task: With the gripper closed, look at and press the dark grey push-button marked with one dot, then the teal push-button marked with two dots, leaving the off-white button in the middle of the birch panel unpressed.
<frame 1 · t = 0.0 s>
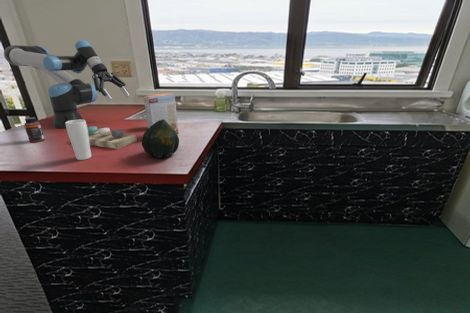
hand: (119, 98, 144), 15 cm above the table, tool tilted 35°, fingers open, 13 cm apart
grey button: (117, 133, 114), point 5 cm above the table, slide at 0.0 cm
white button: (104, 131, 117), point 5 cm above the table, slide at 0.0 cm
teal button: (91, 129, 119), point 5 cm above the table, slide at 0.0 cm
button panel: (106, 141, 118), on the table
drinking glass: (84, 158, 99), on the table
squash: (162, 154, 103), on the table
supplement bottle: (37, 141, 120), on the table
cracker box: (164, 136, 127), on the table
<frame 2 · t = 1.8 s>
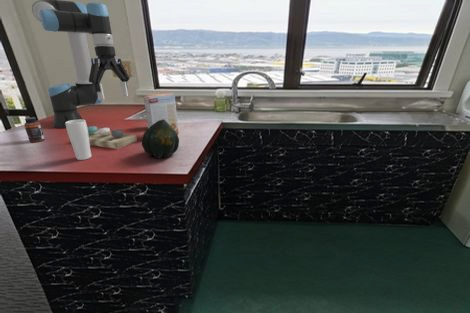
hand: (114, 98, 111), 21 cm above the table, tool pointing down, fingers open, 13 cm apart
nothing on the table moved.
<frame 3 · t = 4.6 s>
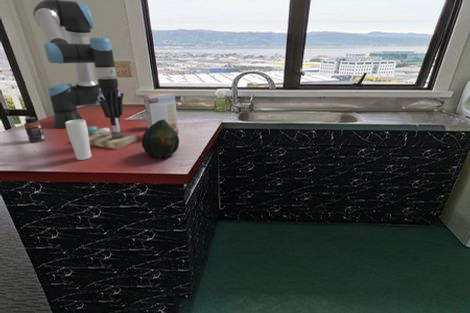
hand: (117, 131, 114), 6 cm above the table, tool pointing down, fingers closed
grey button: (117, 134, 114), point 5 cm above the table, slide at 0.7 cm, touching gripper
everything else where it was.
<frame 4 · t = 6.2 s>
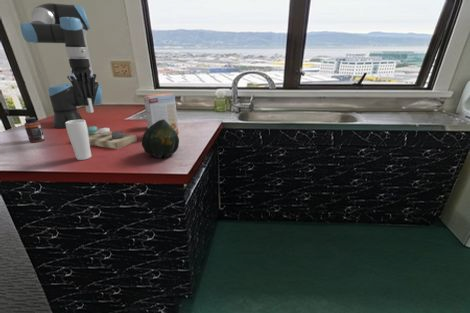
hand: (90, 112, 116), 14 cm above the table, tool pointing down, fingers closed
grey button: (117, 134, 114), point 4 cm above the table, slide at 0.8 cm
everything else where it was.
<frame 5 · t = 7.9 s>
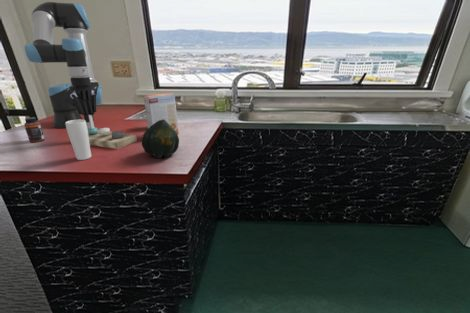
hand: (91, 128, 119), 6 cm above the table, tool pointing down, fingers closed
teal button: (91, 130, 119), point 5 cm above the table, slide at 0.6 cm, touching gripper
everything else where it was.
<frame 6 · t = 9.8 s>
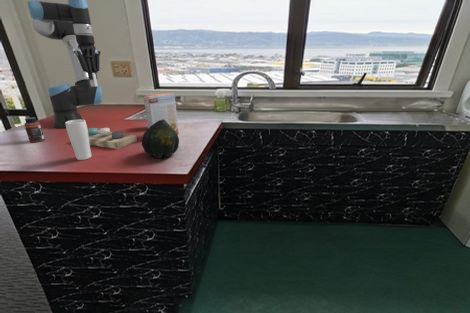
hand: (94, 86, 126), 24 cm above the table, tool pointing down, fingers closed
teal button: (91, 131, 119), point 4 cm above the table, slide at 0.8 cm
everything else where it was.
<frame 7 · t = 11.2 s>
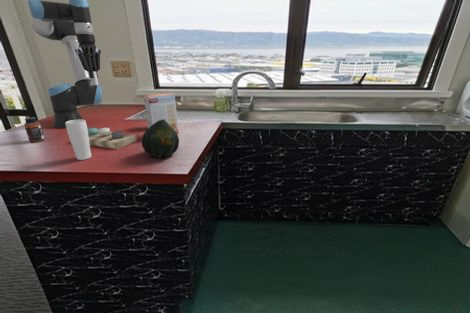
hand: (95, 84, 127), 24 cm above the table, tool pointing down, fingers closed
nothing on the table moved.
at the end: grey button slide at 0.8 cm; teal button slide at 0.8 cm; white button slide at 0.0 cm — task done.
